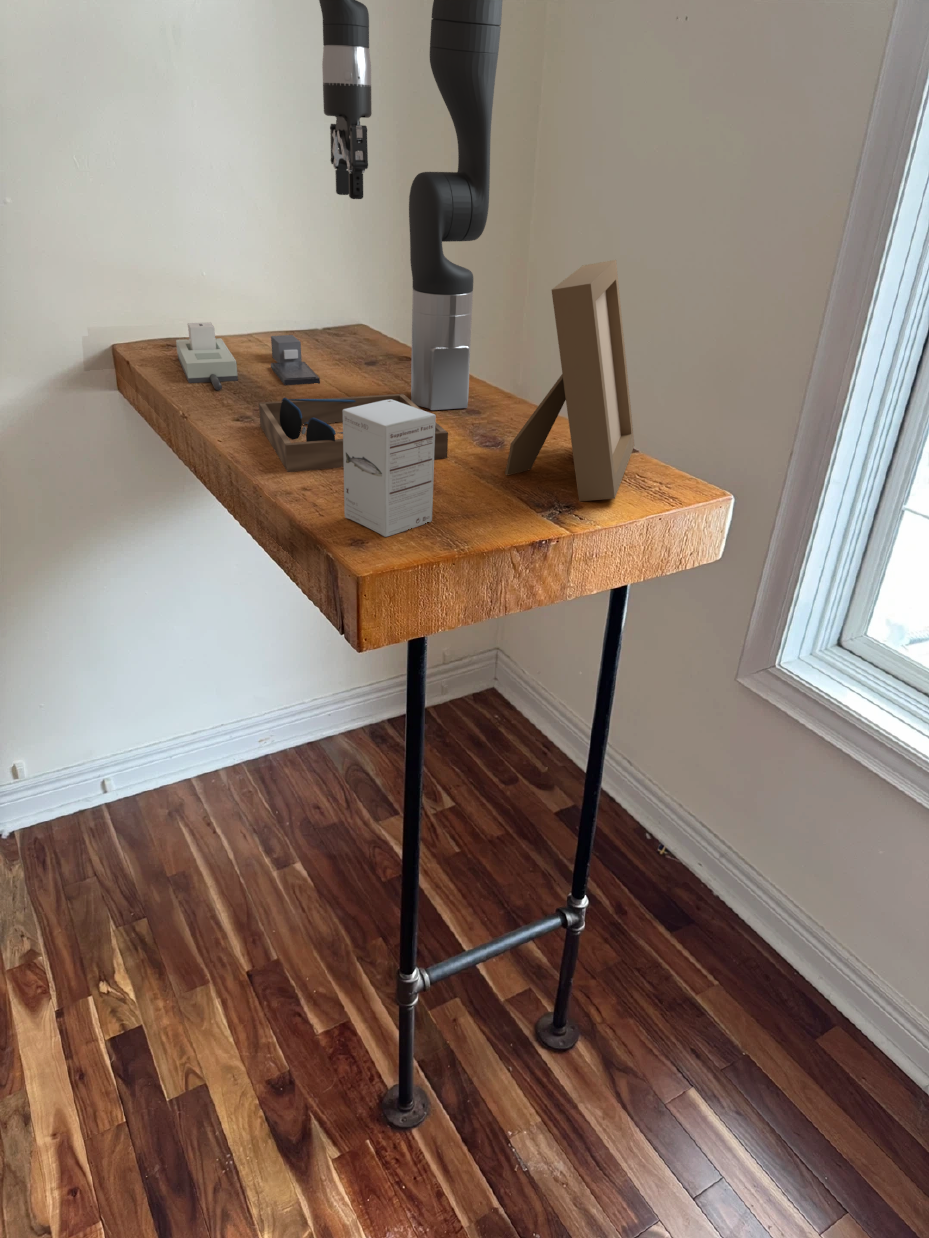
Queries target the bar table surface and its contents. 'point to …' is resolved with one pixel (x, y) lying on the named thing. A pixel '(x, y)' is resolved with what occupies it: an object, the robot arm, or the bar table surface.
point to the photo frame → (586, 385)
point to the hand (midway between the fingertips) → (349, 196)
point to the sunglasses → (315, 428)
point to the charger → (201, 336)
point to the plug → (286, 348)
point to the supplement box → (388, 466)
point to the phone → (295, 373)
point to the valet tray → (325, 451)
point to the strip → (207, 363)
